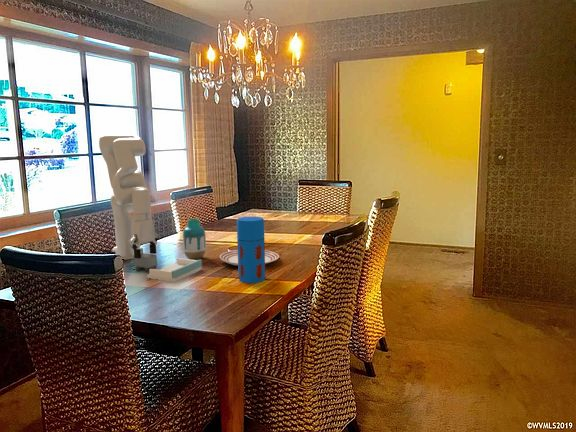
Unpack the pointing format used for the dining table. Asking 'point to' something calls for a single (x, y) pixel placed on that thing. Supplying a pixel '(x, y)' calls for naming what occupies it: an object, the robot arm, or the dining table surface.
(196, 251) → the vase
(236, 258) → the dinner plate
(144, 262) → the lidded gray box
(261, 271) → the thermos
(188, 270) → the loading dock
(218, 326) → the dining table surface
